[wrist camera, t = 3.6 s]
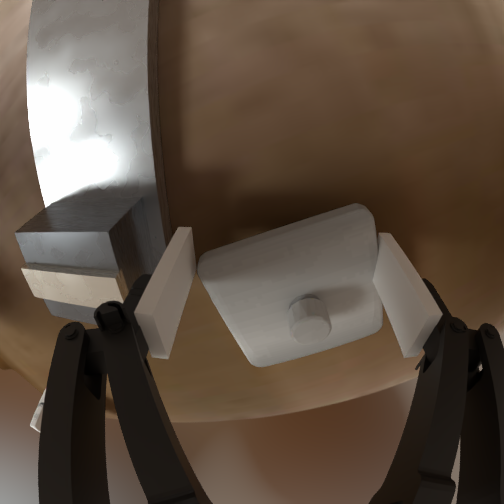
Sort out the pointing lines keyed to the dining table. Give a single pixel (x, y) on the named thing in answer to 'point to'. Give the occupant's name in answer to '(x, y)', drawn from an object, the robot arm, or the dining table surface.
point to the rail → (94, 153)
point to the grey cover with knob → (298, 286)
